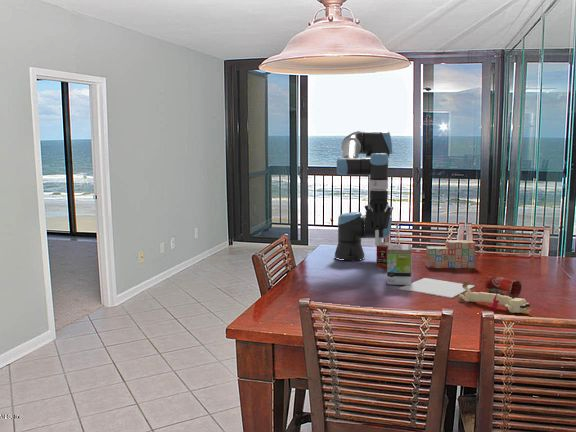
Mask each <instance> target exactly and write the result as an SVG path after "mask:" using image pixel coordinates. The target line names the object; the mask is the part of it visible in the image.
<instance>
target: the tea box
mask: <svg viewBox="0 0 576 432" xmlns="http://www.w3.org/2000/svg"><path fill="white" fill-rule="evenodd" d="M386 283H387V285H393V286H394V285H395V286H396V285H399V286H400V285H401V286H406V285H411V283H412V245H411V244H406V243H405V244H403V243H402V244H396V243H395V244H394V243H393V244H388V249H387V268H386Z"/></svg>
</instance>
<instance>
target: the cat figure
mask: <svg viewBox="0 0 576 432" xmlns="http://www.w3.org/2000/svg"><path fill="white" fill-rule="evenodd" d="M462 284H463V285H462V287H463V288H464V289H465V290H466V291H465V292H464V294H463V293H461V294H459V295H458V302H461V303H463V302H464V301H465V302H467V303H468V302H470V303H475V302H476V303H490V304H491V306H492V309H493V310H494V311H497V308H498V307H499V305H500V306H503V307H504V308H507V310H508V311H509V313H512V314H514V313H518V314H519V313H521V314H529V313H530V311H532V309H531V308H529V307H531V304H530V302H527V300H526V299H525V298H521V297H517V298H515V297H514V298H512V297H509V296H507V295H506V293H504V292H502V293H504V295H505V296H503V295H501V294H494V293H490V292H483V291H480V292H476V291H473V292H472V290H471V289H469V288H468V287H467V286H468V285H471V284H470V281H469V280H465V281H464V282H463V283H462ZM527 308H529V309H527Z"/></svg>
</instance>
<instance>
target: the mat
mask: <svg viewBox="0 0 576 432" xmlns="http://www.w3.org/2000/svg"><path fill="white" fill-rule="evenodd" d="M462 285H463V283H459V282H454V281H446V280H440V279H434V278H428V277H423V278H421V279H418V280H415V281H413V282H411V285H402V286H401V287H399V288H398V290H403V291H409V292H413V293H414V292H415V293H420V294H426V295H431V296H437V297H443V298H449V299H453V298H455V297H458V296H459V295H460V294H463V293H466V292H467V291H466V290H465V289H464V288H463V287H462ZM467 287H468V288H469V289H470V290H471V289H473V288H475V287H476V285H473V284H469V285H468V286H467Z"/></svg>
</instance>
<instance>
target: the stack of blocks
mask: <svg viewBox="0 0 576 432" xmlns="http://www.w3.org/2000/svg"><path fill="white" fill-rule="evenodd" d="M444 244H445V246H428V245H427V246H426V250H425V251H426V252H425V266H426V267H427V268H428V269H475V268H476V267H475V265H476V263H475V262H476V242H475V241H474V240H465V239H460V240H457V239H454V240H452V239H451V240H450V239H448V240H445V243H444Z"/></svg>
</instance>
